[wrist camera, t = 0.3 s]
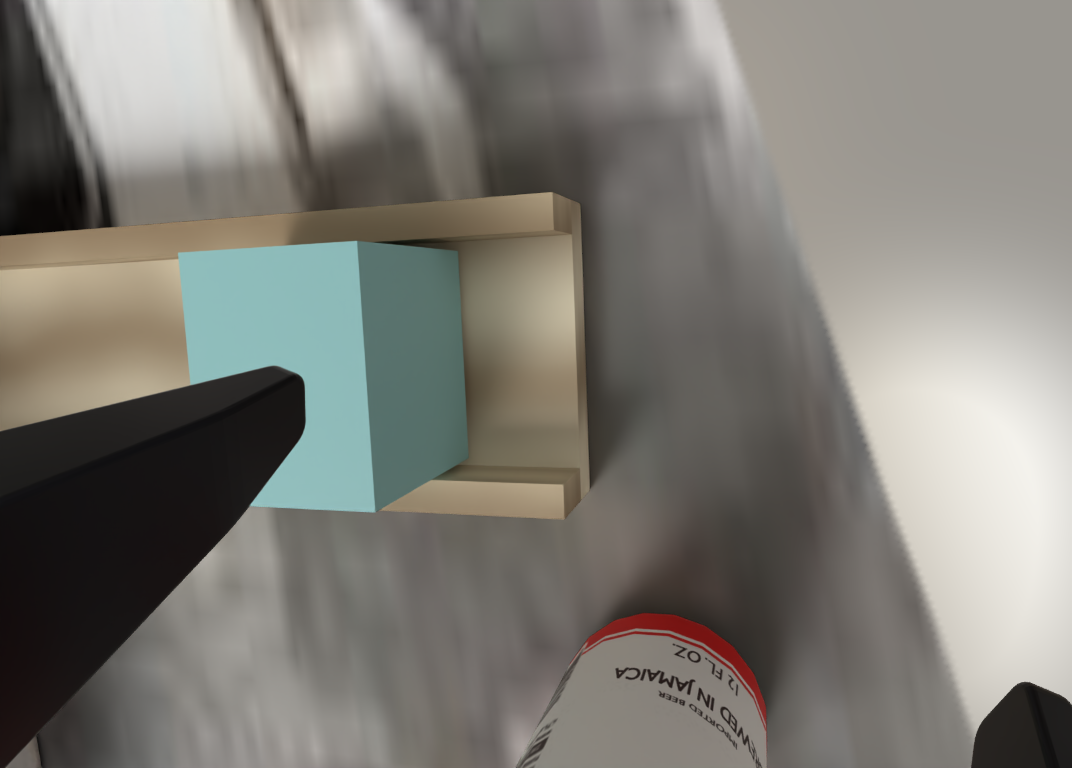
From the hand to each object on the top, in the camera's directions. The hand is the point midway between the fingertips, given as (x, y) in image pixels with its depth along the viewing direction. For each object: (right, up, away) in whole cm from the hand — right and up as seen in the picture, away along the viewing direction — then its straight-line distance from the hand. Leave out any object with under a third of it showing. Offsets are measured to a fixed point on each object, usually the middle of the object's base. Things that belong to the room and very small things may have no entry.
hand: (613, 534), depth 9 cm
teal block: (-6, +3, +15) cm, 16 cm away
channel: (-13, +3, +19) cm, 23 cm away
